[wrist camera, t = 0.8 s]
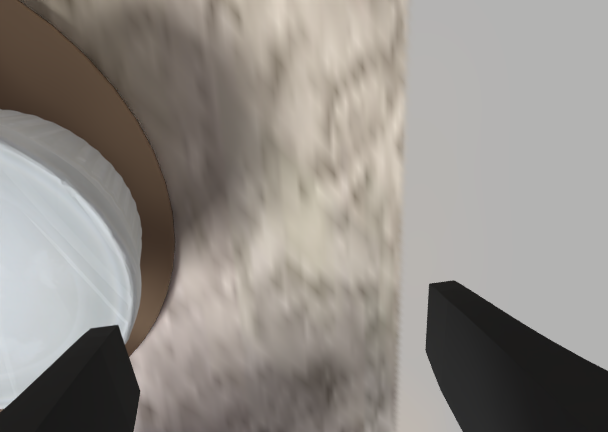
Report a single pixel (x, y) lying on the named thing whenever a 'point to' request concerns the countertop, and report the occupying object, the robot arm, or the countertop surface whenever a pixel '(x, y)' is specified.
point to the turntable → (90, 135)
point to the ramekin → (60, 247)
